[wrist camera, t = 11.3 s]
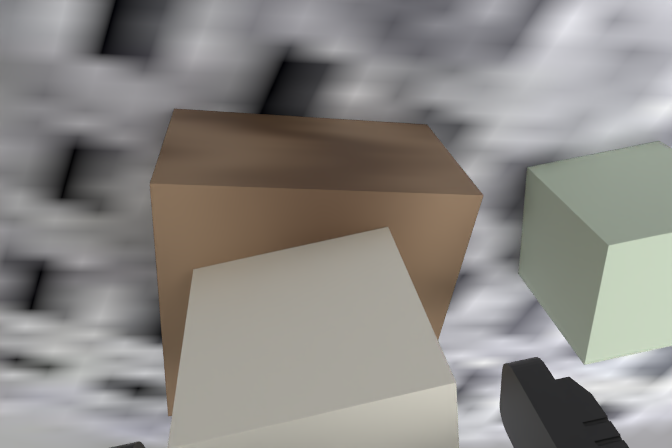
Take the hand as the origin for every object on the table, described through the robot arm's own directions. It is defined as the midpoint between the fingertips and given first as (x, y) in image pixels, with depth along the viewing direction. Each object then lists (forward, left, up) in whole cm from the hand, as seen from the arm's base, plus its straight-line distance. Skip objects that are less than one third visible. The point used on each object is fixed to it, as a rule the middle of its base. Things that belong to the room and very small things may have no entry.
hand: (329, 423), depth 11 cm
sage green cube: (+11, -2, -8) cm, 14 cm away
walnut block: (0, 0, -8) cm, 8 cm away
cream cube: (0, 0, -3) cm, 3 cm away
